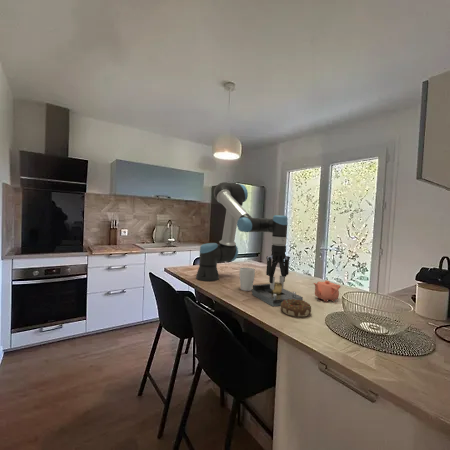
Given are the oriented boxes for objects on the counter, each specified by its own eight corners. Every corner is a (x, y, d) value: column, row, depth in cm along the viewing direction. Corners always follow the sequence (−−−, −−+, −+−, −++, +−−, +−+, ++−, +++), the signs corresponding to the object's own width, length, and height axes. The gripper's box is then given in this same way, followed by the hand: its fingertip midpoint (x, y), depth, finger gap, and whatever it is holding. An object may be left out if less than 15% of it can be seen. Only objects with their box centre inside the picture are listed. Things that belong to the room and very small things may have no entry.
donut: (317, 315, 120) (318, 304, 120) (296, 320, 112) (296, 309, 112) (293, 305, 132) (294, 295, 132) (273, 309, 124) (273, 299, 124)
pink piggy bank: (317, 294, 153) (318, 276, 152) (340, 298, 147) (341, 280, 146) (311, 300, 141) (312, 281, 140) (335, 305, 134) (337, 285, 134)
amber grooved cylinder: (269, 297, 142) (270, 282, 142) (277, 297, 144) (278, 282, 144) (274, 300, 137) (276, 285, 137) (283, 299, 139) (284, 284, 139)
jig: (251, 294, 146) (252, 284, 146) (279, 291, 154) (279, 282, 154) (272, 306, 128) (273, 295, 128) (302, 303, 136) (303, 292, 135)
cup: (253, 292, 151) (254, 271, 150) (237, 290, 153) (238, 269, 152) (254, 288, 160) (255, 268, 159) (239, 286, 162) (240, 267, 161)
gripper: (268, 245, 133) (266, 291, 134) (297, 245, 140) (295, 289, 141) (260, 243, 140) (258, 287, 140) (288, 243, 147) (286, 285, 148)
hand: (276, 288), depth 141 cm, fingers closed on amber grooved cylinder, 5 cm apart
